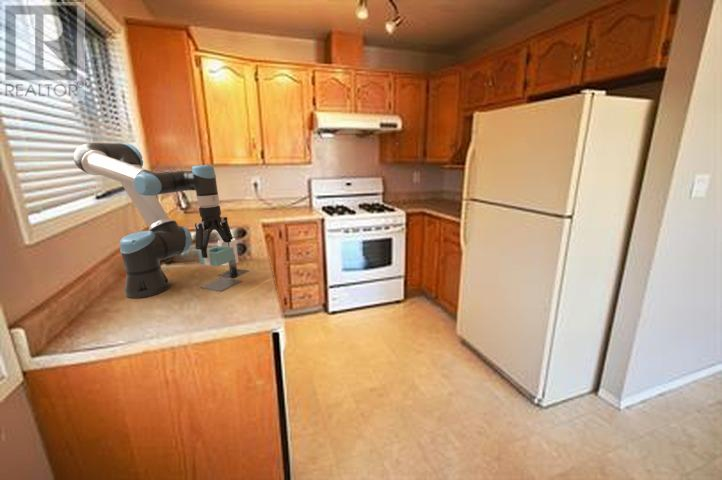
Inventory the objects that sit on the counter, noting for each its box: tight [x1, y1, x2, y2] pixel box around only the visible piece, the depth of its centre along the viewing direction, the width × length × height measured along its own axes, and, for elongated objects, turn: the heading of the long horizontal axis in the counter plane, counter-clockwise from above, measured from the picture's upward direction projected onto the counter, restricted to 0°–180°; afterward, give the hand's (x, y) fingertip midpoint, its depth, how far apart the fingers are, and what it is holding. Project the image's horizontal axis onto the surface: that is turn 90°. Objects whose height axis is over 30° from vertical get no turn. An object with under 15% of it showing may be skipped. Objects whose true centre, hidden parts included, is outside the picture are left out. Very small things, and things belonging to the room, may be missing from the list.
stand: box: [216, 254, 250, 279], centre depth 145 cm, size 10×10×9 cm
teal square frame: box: [198, 245, 235, 268], centre depth 130 cm, size 9×9×5 cm
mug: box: [217, 237, 240, 266], centre depth 158 cm, size 12×8×12 cm
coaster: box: [200, 276, 242, 293], centre depth 133 cm, size 11×11×1 cm
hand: (218, 261), depth 130 cm, fingers closed on teal square frame, 9 cm apart
